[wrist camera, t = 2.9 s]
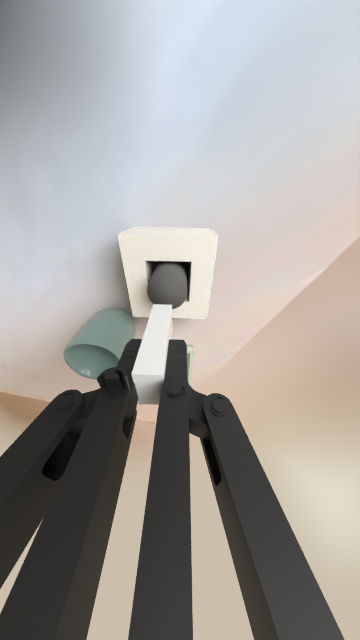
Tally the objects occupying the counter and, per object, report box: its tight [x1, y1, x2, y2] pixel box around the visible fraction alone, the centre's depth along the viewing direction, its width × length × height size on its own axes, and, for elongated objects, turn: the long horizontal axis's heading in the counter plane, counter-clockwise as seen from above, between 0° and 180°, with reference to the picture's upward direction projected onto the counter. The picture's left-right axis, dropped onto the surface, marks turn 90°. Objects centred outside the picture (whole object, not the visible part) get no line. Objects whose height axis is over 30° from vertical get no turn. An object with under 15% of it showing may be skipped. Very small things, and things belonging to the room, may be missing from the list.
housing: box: [117, 227, 218, 319], centre depth 21 cm, size 10×10×6 cm
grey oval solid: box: [147, 261, 187, 309], centre depth 19 cm, size 4×4×6 cm
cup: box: [64, 308, 135, 379], centre depth 26 cm, size 8×8×10 cm
